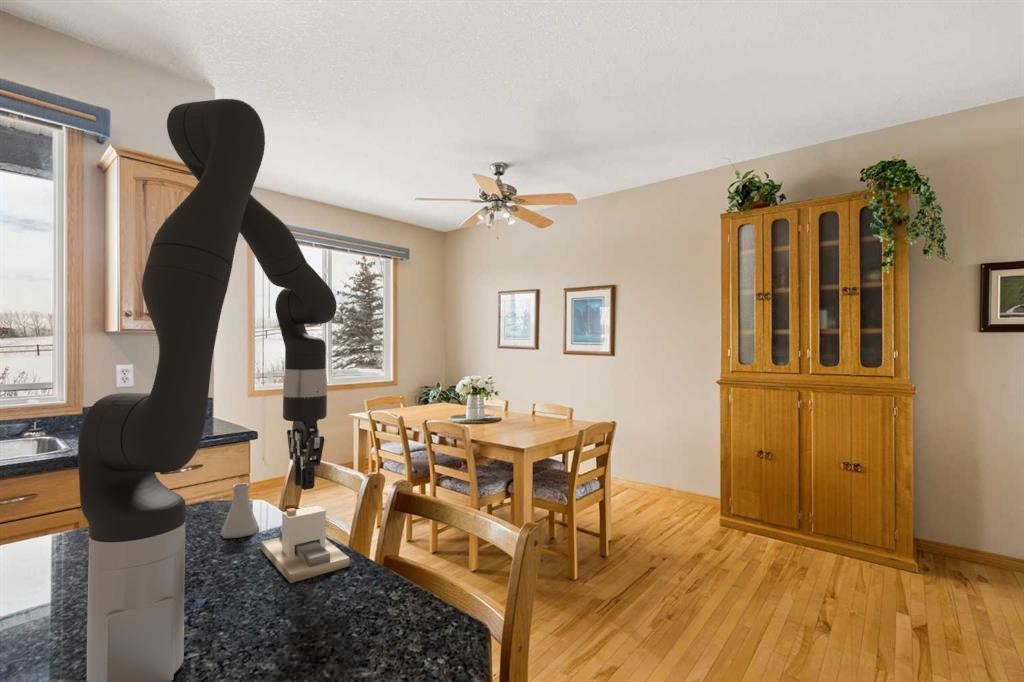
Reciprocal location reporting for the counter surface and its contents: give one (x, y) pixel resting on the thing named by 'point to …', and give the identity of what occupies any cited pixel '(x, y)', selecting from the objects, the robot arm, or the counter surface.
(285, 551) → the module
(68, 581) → the counter surface
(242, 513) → the flask
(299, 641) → the counter surface
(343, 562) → the rail board
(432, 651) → the counter surface
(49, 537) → the counter surface
